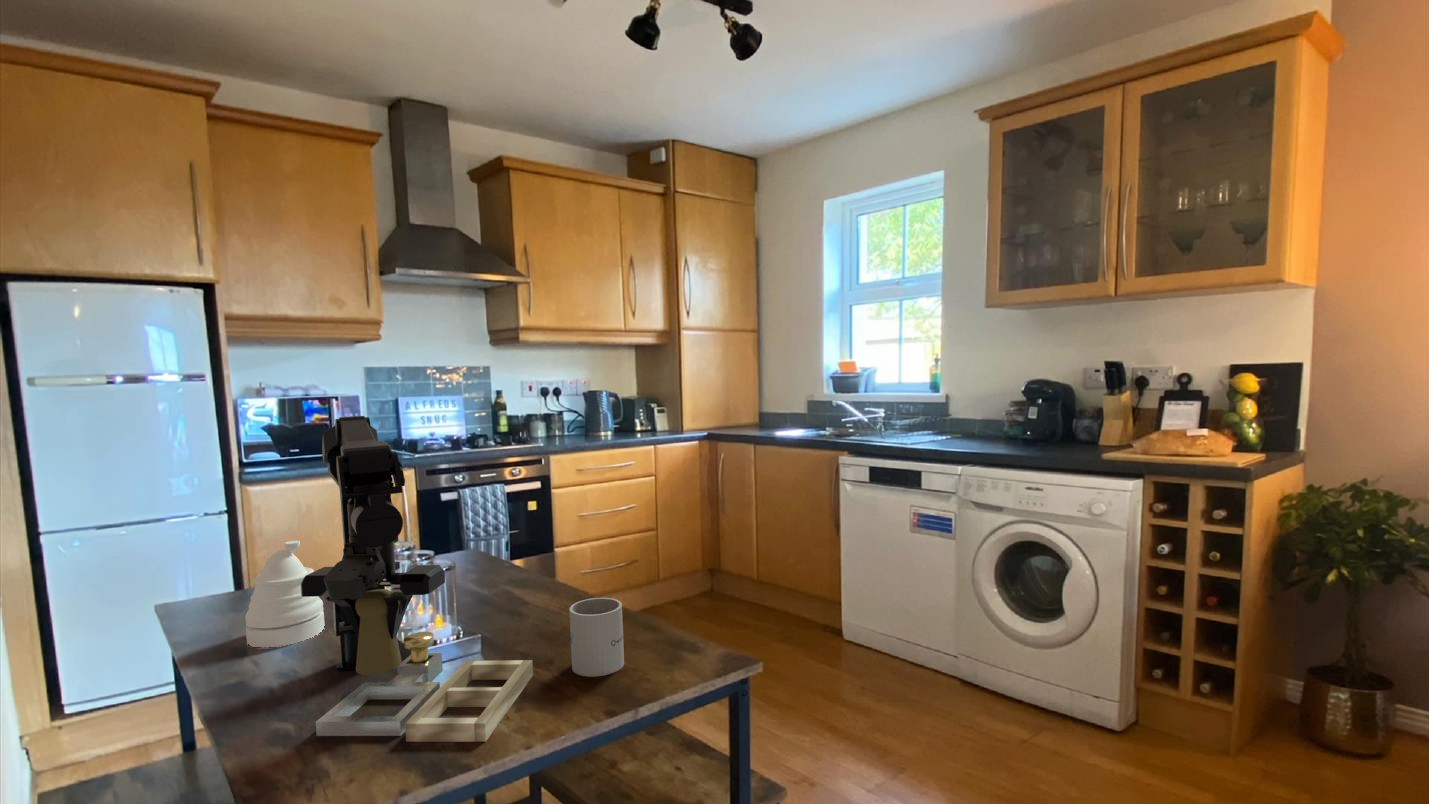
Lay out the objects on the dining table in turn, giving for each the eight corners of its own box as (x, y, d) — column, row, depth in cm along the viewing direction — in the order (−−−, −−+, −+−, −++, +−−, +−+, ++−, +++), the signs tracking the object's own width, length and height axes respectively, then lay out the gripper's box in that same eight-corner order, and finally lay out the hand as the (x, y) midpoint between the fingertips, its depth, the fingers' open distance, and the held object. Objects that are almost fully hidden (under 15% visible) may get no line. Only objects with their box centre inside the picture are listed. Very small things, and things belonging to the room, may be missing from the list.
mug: (606, 679, 111) (604, 618, 110) (561, 672, 114) (559, 612, 114) (643, 649, 122) (641, 593, 122) (601, 643, 125) (599, 589, 125)
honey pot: (330, 619, 143) (325, 532, 142) (316, 642, 131) (310, 547, 130) (258, 628, 139) (252, 539, 138) (237, 653, 127) (230, 555, 126)
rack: (406, 741, 94) (405, 723, 94) (467, 675, 114) (466, 660, 114) (485, 741, 93) (485, 723, 93) (533, 675, 113) (532, 660, 113)
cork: (383, 676, 98) (379, 599, 97) (346, 673, 99) (341, 597, 98) (410, 658, 104) (406, 585, 103) (374, 656, 105) (370, 584, 104)
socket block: (316, 735, 96) (315, 714, 96) (393, 671, 117) (392, 653, 116) (400, 735, 96) (399, 714, 95) (463, 670, 116) (462, 652, 116)
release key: (400, 680, 112) (398, 642, 111) (414, 668, 116) (412, 631, 116) (427, 680, 111) (425, 642, 111) (439, 668, 116) (437, 631, 116)
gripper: (270, 548, 93) (278, 662, 94) (406, 545, 92) (412, 661, 93) (322, 528, 104) (328, 631, 105) (443, 526, 103) (449, 629, 104)
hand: (377, 638), depth 101 cm, fingers closed on cork, 4 cm apart
